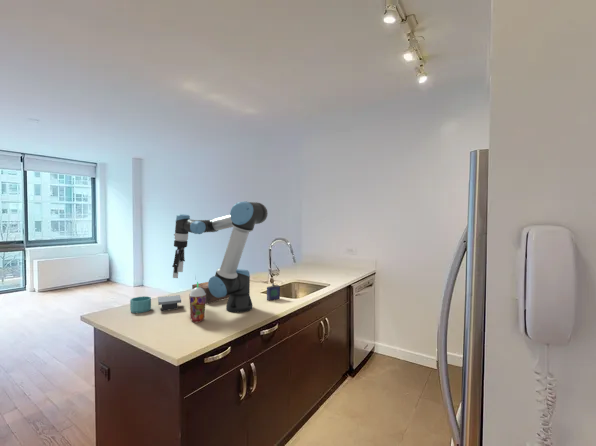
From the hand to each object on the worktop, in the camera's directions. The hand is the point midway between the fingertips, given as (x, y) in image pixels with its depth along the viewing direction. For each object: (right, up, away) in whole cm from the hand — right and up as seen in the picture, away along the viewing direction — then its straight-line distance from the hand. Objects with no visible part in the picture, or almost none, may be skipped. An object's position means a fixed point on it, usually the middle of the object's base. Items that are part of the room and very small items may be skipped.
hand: (177, 274), depth 186 cm
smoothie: (+20, -19, -26) cm, 38 cm away
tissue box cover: (+18, -19, +18) cm, 32 cm away
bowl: (-17, -19, -10) cm, 27 cm away
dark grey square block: (-3, -19, -5) cm, 20 cm away
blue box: (+56, -19, +14) cm, 61 cm away
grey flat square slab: (-3, -15, -5) cm, 16 cm away
